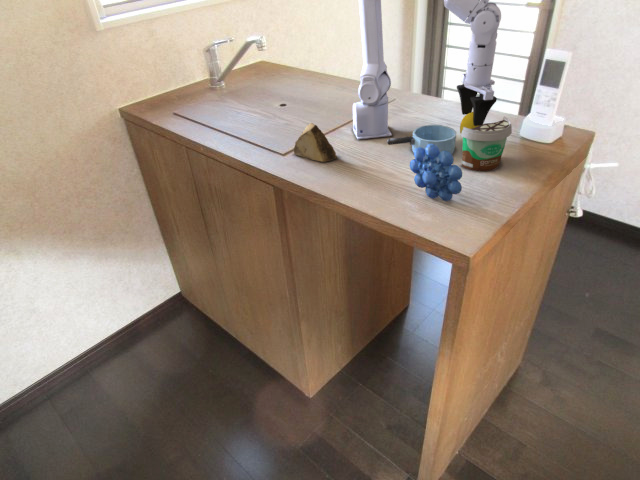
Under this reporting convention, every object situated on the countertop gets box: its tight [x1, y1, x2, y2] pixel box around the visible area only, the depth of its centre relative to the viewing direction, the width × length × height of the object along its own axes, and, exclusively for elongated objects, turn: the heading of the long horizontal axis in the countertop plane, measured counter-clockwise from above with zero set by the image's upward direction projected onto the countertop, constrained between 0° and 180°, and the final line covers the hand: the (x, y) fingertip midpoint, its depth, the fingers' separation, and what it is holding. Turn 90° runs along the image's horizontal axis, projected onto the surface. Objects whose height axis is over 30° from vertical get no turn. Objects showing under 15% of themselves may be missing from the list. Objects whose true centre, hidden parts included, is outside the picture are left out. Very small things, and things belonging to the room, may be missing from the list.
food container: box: [460, 116, 513, 172], centre depth 101 cm, size 12×6×10 cm, turn 114°
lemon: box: [459, 111, 478, 134], centre depth 113 cm, size 6×6×8 cm
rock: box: [293, 122, 338, 163], centre depth 113 cm, size 11×9×10 cm
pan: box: [411, 124, 457, 155], centre depth 112 cm, size 10×10×4 cm
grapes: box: [408, 143, 463, 202], centre depth 90 cm, size 12×7×12 cm, turn 52°
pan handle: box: [386, 136, 415, 146], centre depth 111 cm, size 7×2×2 cm, turn 96°
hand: (472, 119), depth 112 cm, fingers open, 7 cm apart
